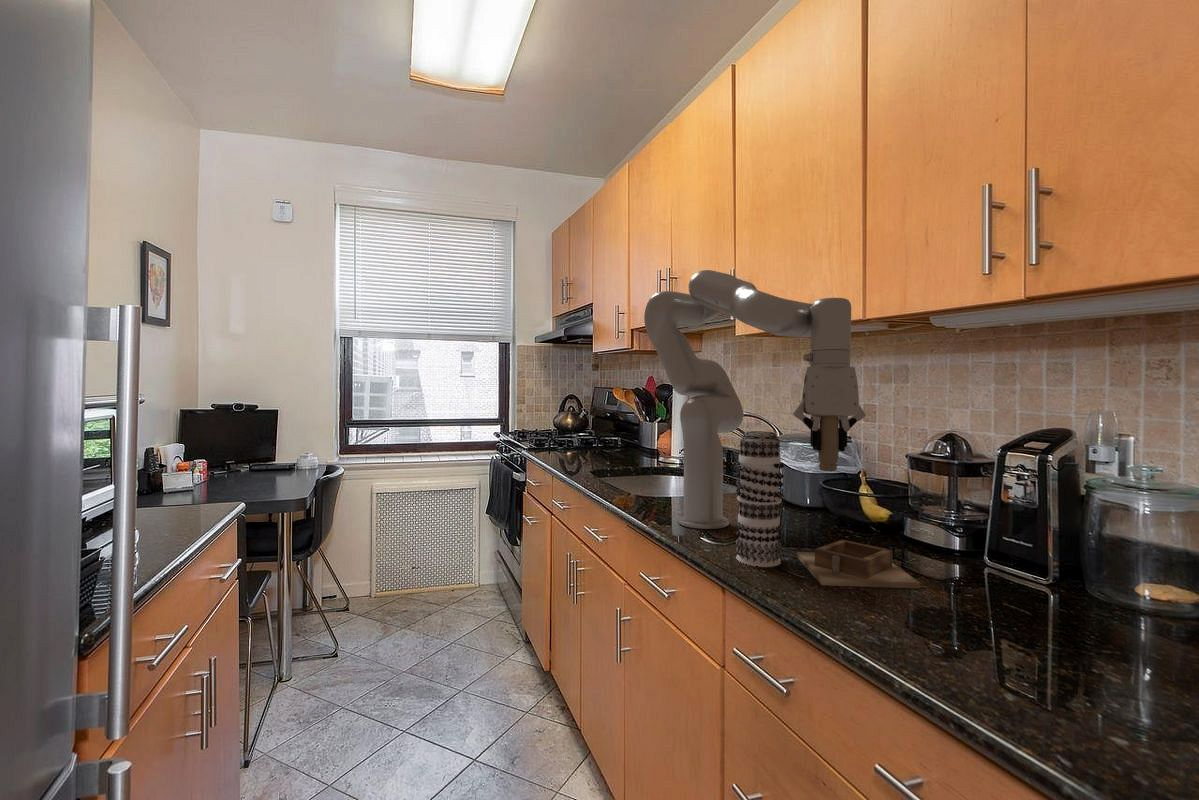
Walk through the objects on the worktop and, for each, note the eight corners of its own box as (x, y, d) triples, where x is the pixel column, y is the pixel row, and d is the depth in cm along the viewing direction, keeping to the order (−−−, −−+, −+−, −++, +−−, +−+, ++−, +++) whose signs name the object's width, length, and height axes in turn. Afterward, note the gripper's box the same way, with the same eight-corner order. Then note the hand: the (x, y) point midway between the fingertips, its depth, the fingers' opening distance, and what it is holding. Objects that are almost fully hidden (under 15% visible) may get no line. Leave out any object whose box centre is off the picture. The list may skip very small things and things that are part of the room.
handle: (849, 472, 113) (851, 397, 112) (821, 472, 111) (822, 397, 111) (834, 468, 117) (835, 396, 117) (806, 469, 116) (808, 396, 116)
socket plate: (796, 557, 112) (797, 537, 111) (880, 559, 110) (881, 539, 110) (821, 585, 96) (821, 561, 96) (919, 588, 94) (920, 564, 94)
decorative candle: (765, 551, 115) (767, 429, 115) (793, 565, 106) (794, 433, 106) (725, 555, 113) (726, 430, 112) (750, 569, 104) (751, 434, 103)
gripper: (792, 359, 111) (790, 451, 111) (880, 359, 109) (878, 453, 110) (783, 360, 118) (781, 447, 119) (865, 361, 117) (863, 449, 117)
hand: (828, 449), depth 114 cm, fingers closed on handle, 4 cm apart
